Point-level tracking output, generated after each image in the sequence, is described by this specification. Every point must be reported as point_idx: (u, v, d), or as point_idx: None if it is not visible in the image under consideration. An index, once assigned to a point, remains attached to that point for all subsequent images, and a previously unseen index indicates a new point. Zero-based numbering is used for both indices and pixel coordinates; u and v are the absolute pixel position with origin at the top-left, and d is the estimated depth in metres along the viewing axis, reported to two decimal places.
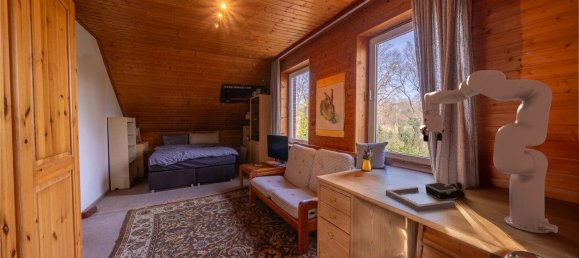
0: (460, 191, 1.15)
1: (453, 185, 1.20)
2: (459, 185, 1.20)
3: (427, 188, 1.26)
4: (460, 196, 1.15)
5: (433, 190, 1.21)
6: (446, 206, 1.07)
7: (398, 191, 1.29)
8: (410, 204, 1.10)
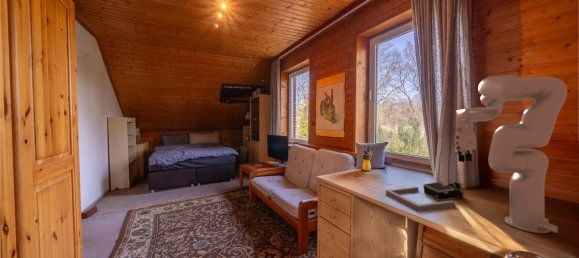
0: (458, 191, 1.15)
1: (451, 185, 1.20)
2: (457, 185, 1.20)
3: (425, 188, 1.27)
4: (458, 196, 1.15)
5: (431, 190, 1.21)
6: (446, 206, 1.07)
7: (398, 191, 1.29)
8: (410, 204, 1.10)
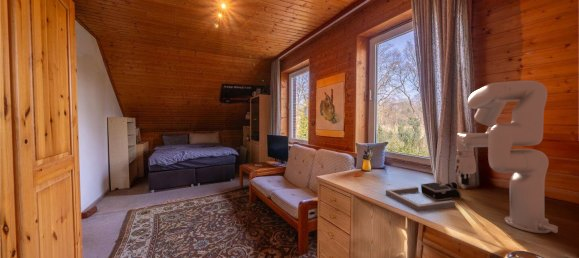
0: (455, 191, 1.15)
1: (448, 185, 1.21)
2: (454, 185, 1.20)
3: (423, 188, 1.27)
4: (455, 196, 1.15)
5: (428, 190, 1.21)
6: (446, 206, 1.07)
7: (398, 191, 1.29)
8: (410, 204, 1.10)
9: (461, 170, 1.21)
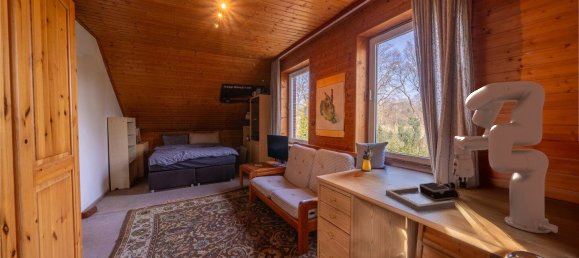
0: (453, 191, 1.16)
1: (446, 185, 1.21)
2: (452, 185, 1.21)
3: (421, 188, 1.27)
4: (453, 196, 1.16)
5: (427, 190, 1.22)
6: (446, 206, 1.07)
7: (398, 191, 1.29)
8: (410, 204, 1.10)
9: (459, 173, 1.21)
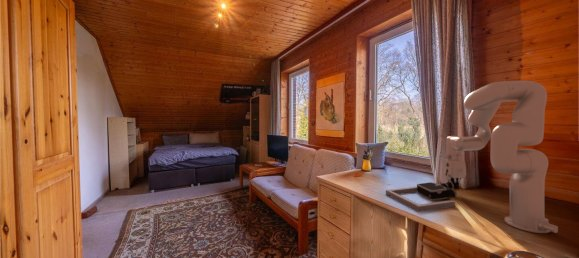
0: (451, 191, 1.16)
1: (444, 185, 1.21)
2: (450, 185, 1.21)
3: (418, 188, 1.27)
4: (451, 195, 1.16)
5: (424, 190, 1.22)
6: (446, 206, 1.07)
7: (398, 191, 1.29)
8: (410, 204, 1.10)
9: (451, 174, 1.20)
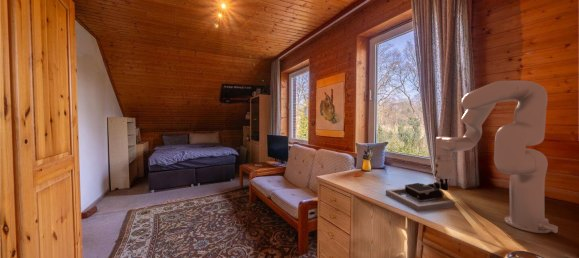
0: (438, 191, 1.16)
1: (431, 185, 1.21)
2: (437, 185, 1.21)
3: (407, 189, 1.27)
4: (438, 196, 1.16)
5: (412, 191, 1.21)
6: (446, 206, 1.07)
7: (398, 191, 1.29)
8: (410, 204, 1.10)
9: (439, 175, 1.19)
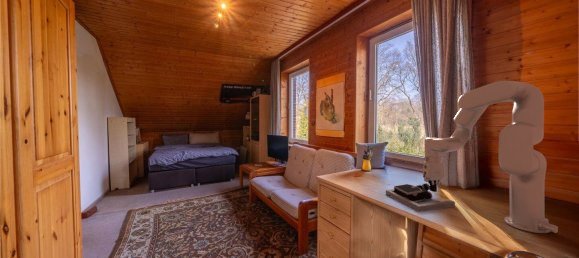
0: (426, 193, 1.15)
1: (420, 187, 1.20)
2: (426, 186, 1.20)
3: (395, 190, 1.25)
4: (426, 198, 1.15)
5: (401, 192, 1.20)
6: (446, 206, 1.07)
7: None
8: (410, 204, 1.10)
9: (428, 176, 1.18)
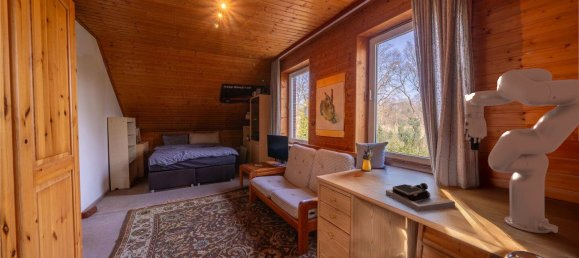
0: (426, 192, 1.15)
1: (418, 186, 1.21)
2: (424, 186, 1.21)
3: (394, 190, 1.25)
4: (426, 197, 1.15)
5: (401, 192, 1.19)
6: (446, 206, 1.07)
7: None
8: (410, 204, 1.10)
9: (471, 133, 1.12)
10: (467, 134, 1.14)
